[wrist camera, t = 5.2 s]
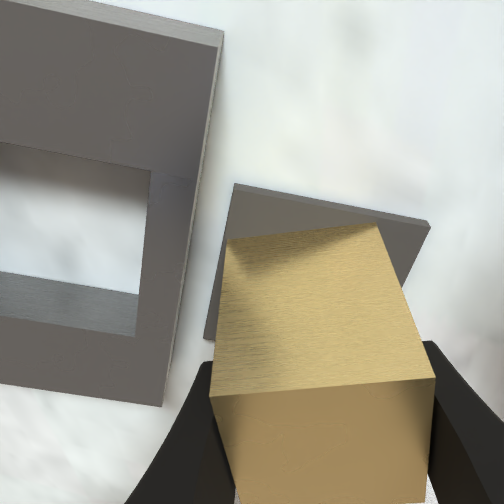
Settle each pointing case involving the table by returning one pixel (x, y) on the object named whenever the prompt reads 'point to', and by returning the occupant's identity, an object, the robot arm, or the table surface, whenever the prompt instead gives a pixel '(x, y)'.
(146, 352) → the gray rectangular frame
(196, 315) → the table surface
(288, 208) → the flat gray plate
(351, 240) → the block
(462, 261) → the table surface
